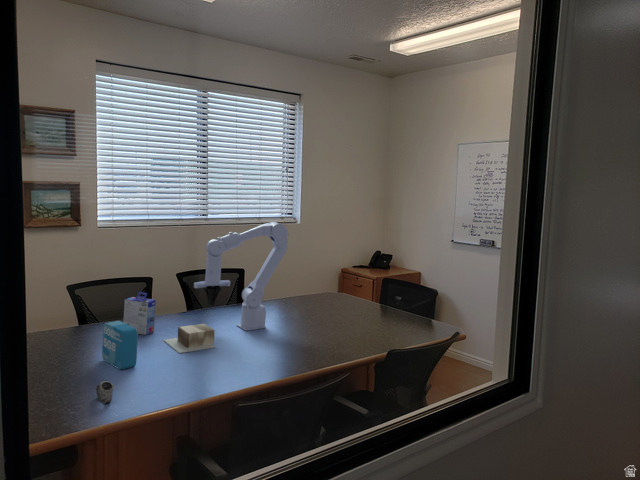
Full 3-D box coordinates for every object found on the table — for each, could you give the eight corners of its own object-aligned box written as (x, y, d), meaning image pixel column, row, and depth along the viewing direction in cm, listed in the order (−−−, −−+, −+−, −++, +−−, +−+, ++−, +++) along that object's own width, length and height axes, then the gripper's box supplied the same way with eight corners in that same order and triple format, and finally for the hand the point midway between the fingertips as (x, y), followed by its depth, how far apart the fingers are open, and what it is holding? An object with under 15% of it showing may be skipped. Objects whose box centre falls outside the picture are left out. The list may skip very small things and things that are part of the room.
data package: (101, 359, 144) (102, 322, 143) (115, 356, 148) (117, 319, 147) (122, 371, 137) (124, 332, 136) (136, 367, 141) (138, 329, 139)
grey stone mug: (102, 406, 116) (103, 387, 116) (92, 397, 120) (92, 379, 120) (116, 402, 119) (117, 383, 118) (105, 393, 123) (106, 375, 122)
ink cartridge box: (155, 331, 174) (156, 293, 173) (146, 335, 169) (148, 296, 167) (131, 327, 176) (132, 290, 175) (122, 331, 171) (123, 293, 169)
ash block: (204, 323, 171) (178, 327, 165) (214, 329, 165) (187, 333, 159) (203, 336, 172) (177, 340, 166) (213, 343, 166) (186, 347, 160)
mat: (197, 335, 174) (197, 334, 174) (215, 347, 163) (215, 346, 163) (163, 340, 165) (163, 339, 165) (179, 353, 155) (179, 352, 155)
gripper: (225, 267, 188) (223, 300, 190) (191, 269, 179) (189, 304, 181) (233, 271, 183) (231, 305, 185) (199, 273, 174) (197, 308, 175)
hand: (211, 304), depth 182 cm, fingers closed
